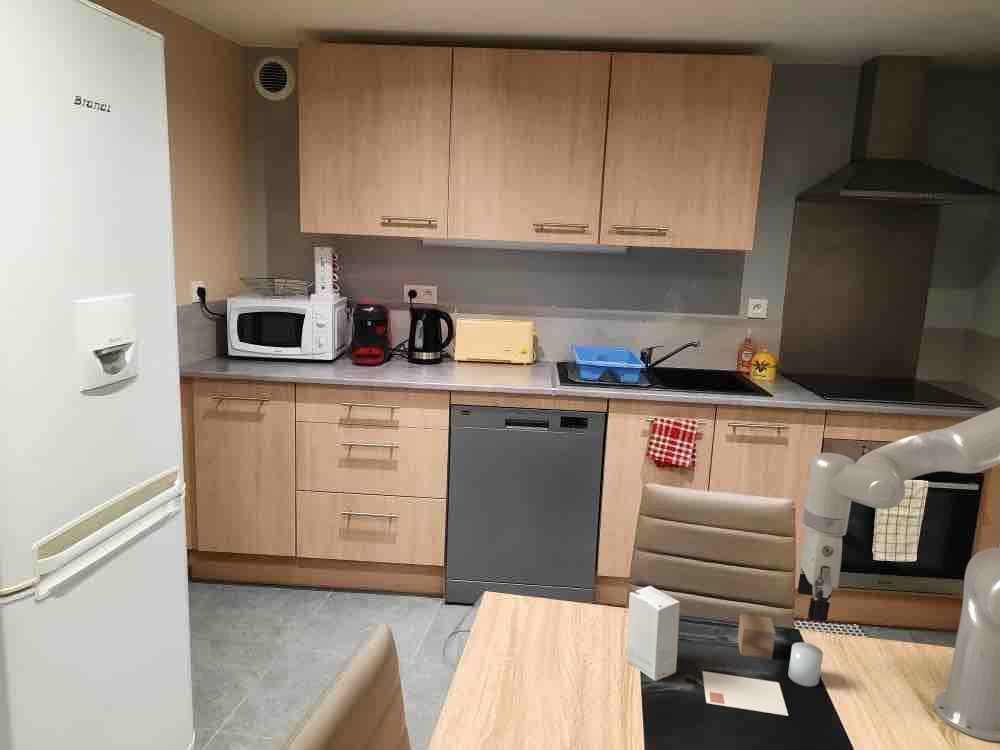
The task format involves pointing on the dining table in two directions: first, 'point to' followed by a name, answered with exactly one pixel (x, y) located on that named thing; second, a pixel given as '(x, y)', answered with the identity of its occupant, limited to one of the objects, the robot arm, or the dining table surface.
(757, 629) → the walnut block
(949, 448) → the robot arm
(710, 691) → the letter
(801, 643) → the grey rounded cylinder
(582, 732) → the dining table surface
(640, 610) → the skincare box
